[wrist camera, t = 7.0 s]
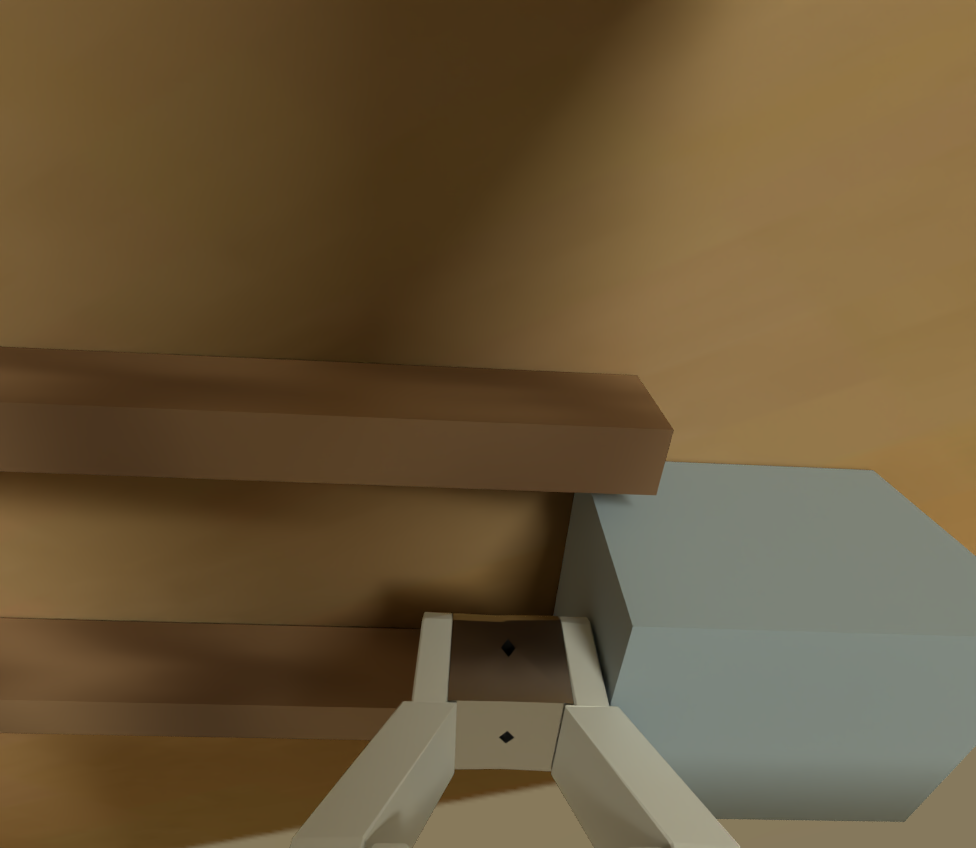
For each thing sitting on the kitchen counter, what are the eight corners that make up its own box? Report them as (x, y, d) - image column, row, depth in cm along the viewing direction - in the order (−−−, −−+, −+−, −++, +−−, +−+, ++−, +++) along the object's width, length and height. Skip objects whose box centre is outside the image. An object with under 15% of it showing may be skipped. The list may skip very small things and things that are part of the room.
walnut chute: (-143, 646, 13) (-245, 728, 11) (-411, 328, 9) (-639, 375, 7) (575, 664, 13) (590, 744, 11) (637, 375, 9) (673, 430, 7)
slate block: (551, 627, 12) (577, 816, 9) (580, 458, 10) (632, 626, 7) (788, 634, 13) (904, 821, 9) (873, 470, 10) (1074, 639, 7)
